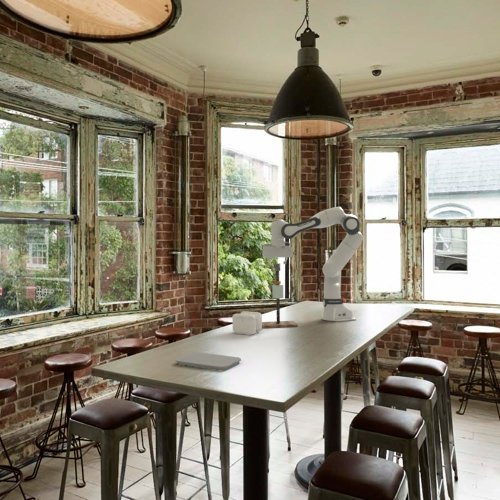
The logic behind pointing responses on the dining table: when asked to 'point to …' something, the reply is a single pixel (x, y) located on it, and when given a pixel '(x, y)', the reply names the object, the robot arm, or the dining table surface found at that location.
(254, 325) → the cable organizer
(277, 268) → the stand
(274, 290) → the sleeve
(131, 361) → the dining table surface
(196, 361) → the tablet
